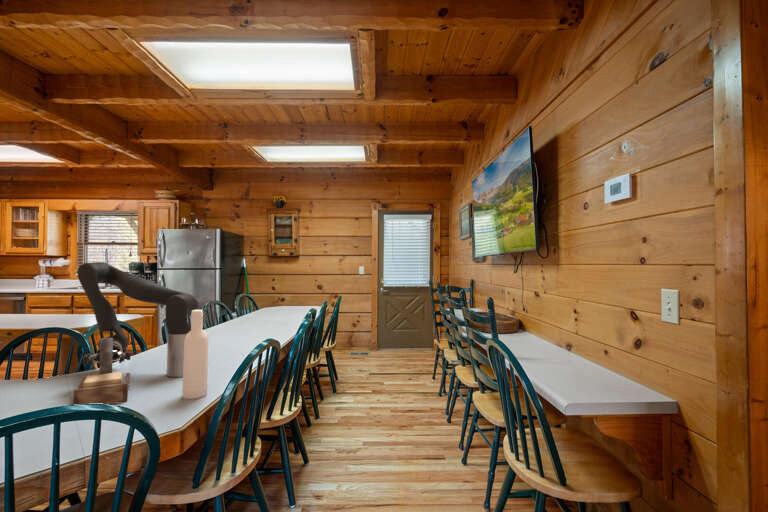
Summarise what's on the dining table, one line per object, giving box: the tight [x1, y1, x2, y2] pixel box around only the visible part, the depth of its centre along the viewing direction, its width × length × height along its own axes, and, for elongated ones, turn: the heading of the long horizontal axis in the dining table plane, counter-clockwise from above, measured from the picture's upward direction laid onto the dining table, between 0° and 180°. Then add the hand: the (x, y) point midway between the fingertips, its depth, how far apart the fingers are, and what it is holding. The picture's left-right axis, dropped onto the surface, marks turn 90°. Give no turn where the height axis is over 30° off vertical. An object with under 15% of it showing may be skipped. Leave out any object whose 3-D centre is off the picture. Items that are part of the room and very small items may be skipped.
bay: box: [72, 372, 131, 405], centre depth 131 cm, size 14×20×6 cm
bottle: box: [181, 309, 210, 400], centre depth 133 cm, size 8×8×30 cm
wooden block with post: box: [83, 337, 124, 388], centre depth 130 cm, size 10×13×18 cm
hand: (105, 361), depth 134 cm, fingers open, 8 cm apart
